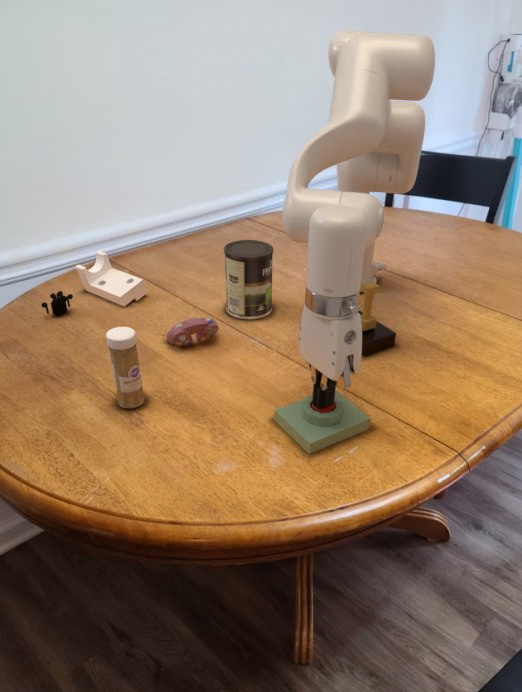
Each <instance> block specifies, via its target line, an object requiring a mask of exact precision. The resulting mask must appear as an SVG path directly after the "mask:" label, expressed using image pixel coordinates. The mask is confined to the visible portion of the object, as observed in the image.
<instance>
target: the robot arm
mask: <svg viewBox="0 0 522 692" xmlns="http://www.w3.org/2000/svg"><path fill="white" fill-rule="evenodd" d="M434 45H435V44H434V43H433V41H432V38H431V37H430V36H428V35H423V34H413V33H412V34H410V33H387V32H375V31H374V32H373V31H358V30H357V31H356V30H350V29H342V30H340V31H338V32H336V33H335V34H334V36H332V38H331V39H330V42H329V44H328V52H327V55H328V64H329V69H330V72H331V74H332V76H333V78H334V79H333V80H334V82H333V86H332V95H331V101H330V107H329V113H328V119H327V124H326V125H325V126H324V127H322V128H321V129H320V130H318V132H316V133H315V134H313V136H312V137H311V138H310V139H309V140H307V142H306V143H305V144H304V145H303V146H302V148H301V149H300V150H299V152H297V154H296V156H295V158H294V160H293V161H292V164H291V167H290V168H289V169H290V170H289V173H288V178H287V184H286V190H285V196H284V201H283V207H282V219H281V220H282V229H283V232H284V233H285V235H286V237H287V238H288V239H289V240H291V241H292V242H296V243H301V244H307V259H306V260H307V261H306V277H305V278H306V279H305V295H304V297H305V298H304V304H303V308H302V312H301V317H300V323H299V331H298V332H299V334H298V352H299V355H300V356H301V358H303V360H305V362H306V363H307V365H308V367H309V369H310V378H311V381H312V383H313V384H312V385H313V386H312V395H313V399H312V404H313V405H314V406H316V408H318V409H322V408H324V407H327V406H330V405H332V404H333V403H334V399H335V390H336V388H339V389H341V390H346V389H348V388H351V387H352V378H351V377H352V376H351V374H352V375H358V374H359V373H360V371H361V367H362V356H363V355H362V324H361V316H360V314H359V313H358V311H360V305H359V301H360V293H363V292H362V291H360V289H361V284H364V283H367V282H371V281H372V282H374V283H376V284H377V281H378V279H377V277H376V275H375V274H377V273H378V272H380V271H384V270H386V269H387V264H386V262H385V261H380V262H377V263H376V261H375V260H374V255H375V254H374V253H375V245H376V240H377V238H379V237H380V236H381V234H382V231H383V228H384V222H385V210H384V207H383V205H382V203H381V200H379V198H378V197H376V196H375V195H373V194H371V193H381V194H383V193H384V194H397V195H399V194H401V195H402V194H407V193H408V192H410V191H411V190H412V189H413V187H414V185H415V183H416V181H417V180H416V179H417V178H418V171H419V166H420V160H421V155H422V149H423V143H424V137H425V131H426V114H425V110H424V109H423V107H422V106H421V105H420V104H418V103H416V102H419V101H422V100H424V99H425V98H426V97H427V96H428V94H429V92H430V89H431V87H432V84H433V81H434V76H435V69H436V51H435V46H434ZM334 166H336V179H337V180H336V181H337V190H335V189H321V188H308V187H309V185H310V183H311V182H312V180H313V179H314V178H315V177H317V175H319V174H320V173H321V172H323V171H324V170H327V169H329V168H331V167H334Z"/></svg>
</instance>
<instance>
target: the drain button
mask: <svg viewBox="0 0 522 692" xmlns="http://www.w3.org/2000/svg"><path fill="white" fill-rule="evenodd" d="M312 409H313V410H314V411H317V412H320V413H329V412H332V411H334V403H333V404H332V405H330V406H327V407H324V408H322V409H318V408H316V406H314V405H313V404H312Z"/></svg>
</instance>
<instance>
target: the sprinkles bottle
mask: <svg viewBox="0 0 522 692" xmlns="http://www.w3.org/2000/svg"><path fill="white" fill-rule="evenodd" d="M105 338H106V345H107V347H108V350H109V356H110V364H111V371H112V376H113V380H114V386H115V387H114V388H115V390H116V395H117V403H118V406H119V407H121V408H123V409H127V410H128V409H137V408H139V407H140V406H142V405H143V404H144V403H145V400H146V399H145V395H144V388H143V378H142V371H141V366H140V360H139V354H138V347H137V343H138V340H137V339H138V338H137V333H136V330H135V329H133V328H132V327H130V326H117V327H113V328H110V329H108V331H107V332H106V333H105Z"/></svg>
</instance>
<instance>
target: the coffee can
mask: <svg viewBox="0 0 522 692" xmlns="http://www.w3.org/2000/svg"><path fill="white" fill-rule="evenodd" d="M223 253H224V273H225V276H224V277H225V294H226V295H225V300H226V308H225V311H226V312H227V314H228V315H230V316H231V317H233V318H236V319H240V320H259V319H263V318H265V317H267V316H269V315H270V314H271V313H272V311H273V307H272V306H273V305H272V304H273V254H274V247H273V246H272V244H270V243H268V242H265V241H262V240H257V239H240V240H234V241H231V242H229V243H227V244H226V245H224V247H223Z"/></svg>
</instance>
